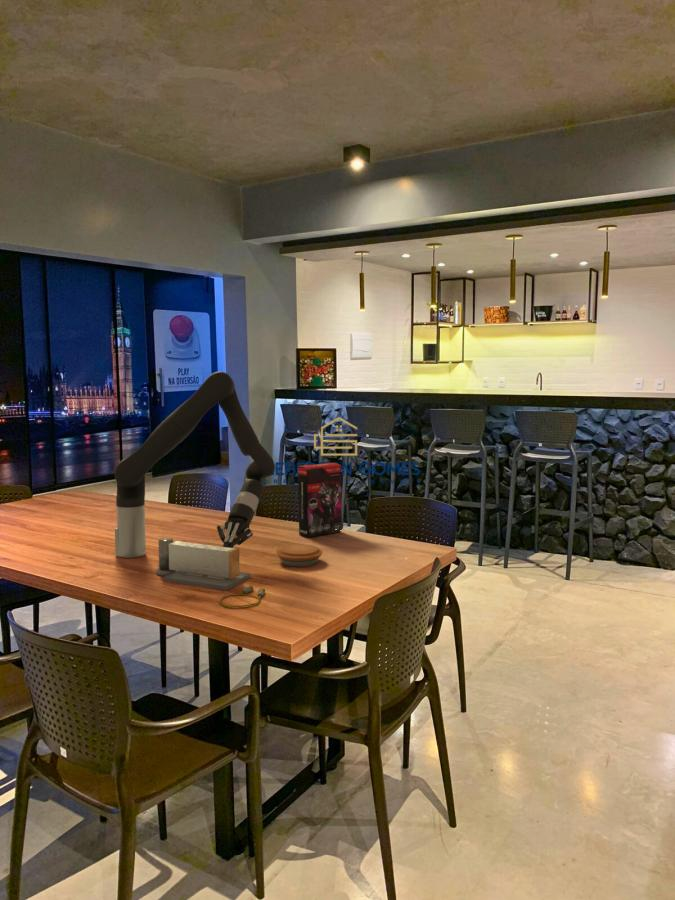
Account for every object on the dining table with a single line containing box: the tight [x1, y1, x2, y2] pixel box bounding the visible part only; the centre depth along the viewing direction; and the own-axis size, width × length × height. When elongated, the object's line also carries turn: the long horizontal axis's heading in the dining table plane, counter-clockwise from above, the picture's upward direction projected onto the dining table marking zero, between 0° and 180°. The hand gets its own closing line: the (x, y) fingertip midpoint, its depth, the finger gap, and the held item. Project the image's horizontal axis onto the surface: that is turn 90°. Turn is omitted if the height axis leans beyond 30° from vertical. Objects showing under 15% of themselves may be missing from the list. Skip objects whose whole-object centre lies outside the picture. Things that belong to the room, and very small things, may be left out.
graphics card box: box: [297, 462, 343, 538], centre depth 265 cm, size 17×7×27 cm, turn 128°
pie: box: [275, 543, 323, 568], centre depth 227 cm, size 15×16×5 cm
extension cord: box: [218, 585, 266, 610], centre depth 189 cm, size 12×16×2 cm
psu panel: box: [156, 567, 252, 591], centre depth 208 cm, size 29×14×1 cm, turn 67°
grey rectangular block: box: [158, 537, 241, 579], centre depth 208 cm, size 27×4×9 cm, turn 67°
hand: (224, 554), depth 214 cm, fingers closed
